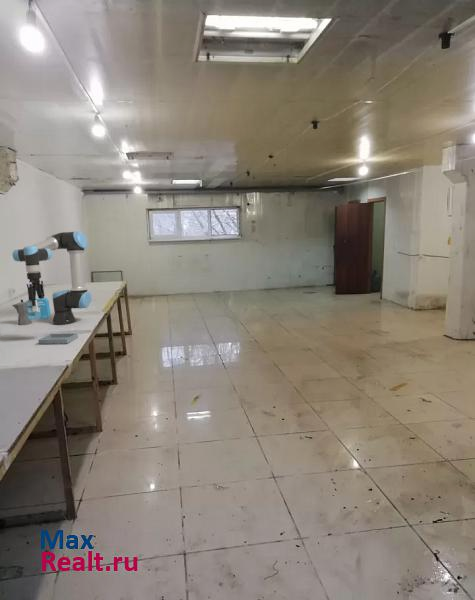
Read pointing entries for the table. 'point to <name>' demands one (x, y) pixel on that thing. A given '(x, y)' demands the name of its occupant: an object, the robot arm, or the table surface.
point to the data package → (38, 309)
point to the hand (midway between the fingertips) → (38, 309)
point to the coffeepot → (22, 313)
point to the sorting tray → (58, 339)
